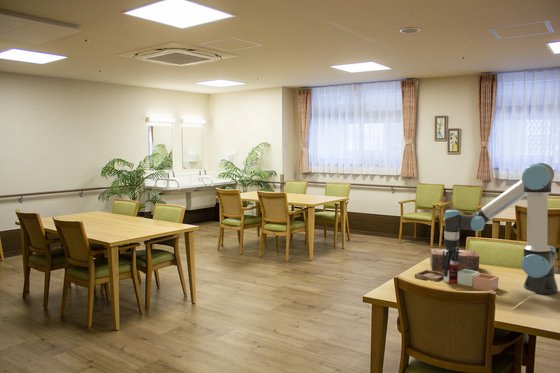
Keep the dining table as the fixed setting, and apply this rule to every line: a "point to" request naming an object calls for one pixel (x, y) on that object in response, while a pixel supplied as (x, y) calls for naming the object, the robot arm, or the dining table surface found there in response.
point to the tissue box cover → (466, 260)
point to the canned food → (452, 272)
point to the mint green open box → (466, 277)
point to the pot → (485, 282)
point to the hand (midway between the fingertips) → (450, 280)
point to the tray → (429, 275)
